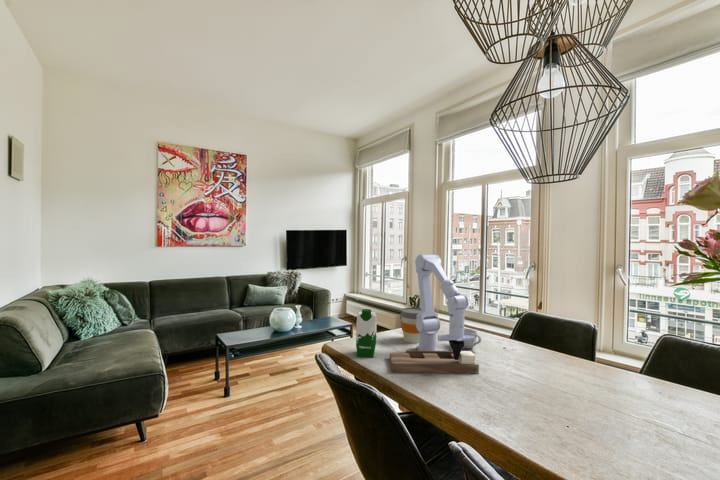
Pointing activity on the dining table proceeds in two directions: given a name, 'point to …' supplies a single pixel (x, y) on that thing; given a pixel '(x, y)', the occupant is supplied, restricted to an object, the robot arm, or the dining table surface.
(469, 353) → the block
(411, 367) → the trap box
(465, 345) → the teacup
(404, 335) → the reusable coffee cup
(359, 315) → the milk carton
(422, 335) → the robot arm
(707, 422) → the dining table surface
